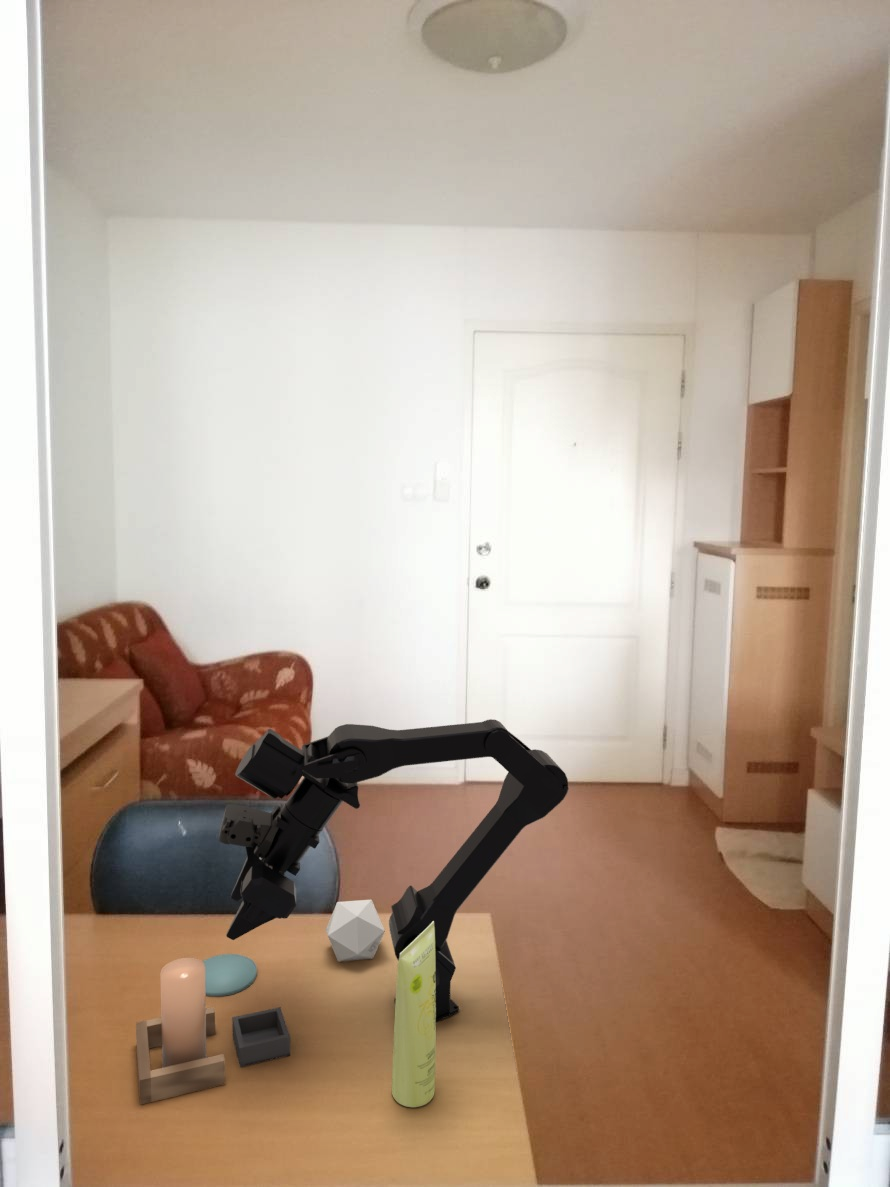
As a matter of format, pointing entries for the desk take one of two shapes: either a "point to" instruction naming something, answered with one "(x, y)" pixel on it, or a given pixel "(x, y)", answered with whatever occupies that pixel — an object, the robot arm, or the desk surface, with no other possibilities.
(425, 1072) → the tube
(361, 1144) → the desk surface
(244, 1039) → the tray
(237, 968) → the pad
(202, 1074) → the channel
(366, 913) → the die
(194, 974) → the canister
